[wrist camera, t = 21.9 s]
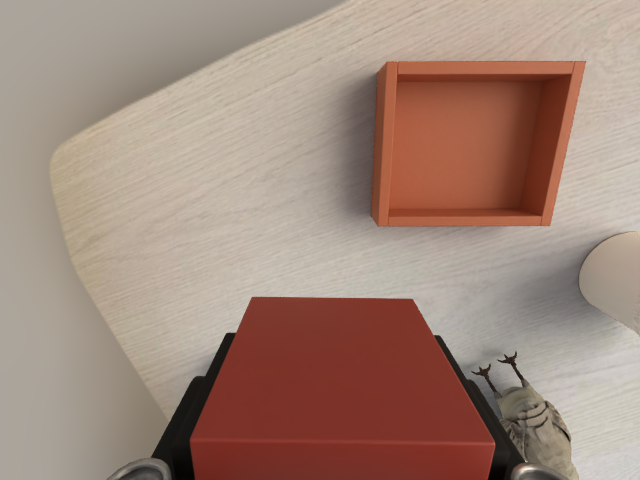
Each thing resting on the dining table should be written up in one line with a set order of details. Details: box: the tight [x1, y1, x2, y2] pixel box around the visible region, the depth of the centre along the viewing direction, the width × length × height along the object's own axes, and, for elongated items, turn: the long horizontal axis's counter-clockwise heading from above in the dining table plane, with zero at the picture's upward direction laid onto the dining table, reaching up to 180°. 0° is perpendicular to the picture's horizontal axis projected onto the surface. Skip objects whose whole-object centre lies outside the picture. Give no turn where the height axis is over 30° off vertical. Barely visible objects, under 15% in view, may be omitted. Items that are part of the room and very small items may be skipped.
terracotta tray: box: [371, 61, 586, 226], centre depth 25 cm, size 14×12×4 cm
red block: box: [190, 297, 495, 480], centre depth 8 cm, size 5×5×5 cm
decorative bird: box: [471, 352, 579, 480], centre depth 32 cm, size 5×16×7 cm, turn 31°
